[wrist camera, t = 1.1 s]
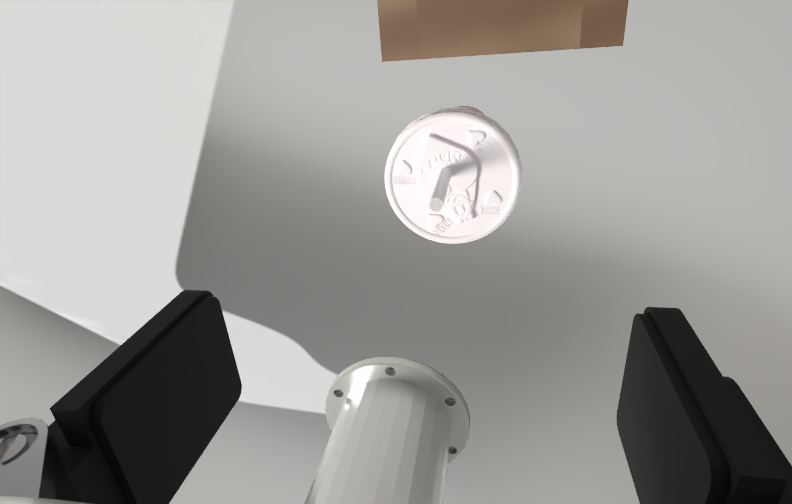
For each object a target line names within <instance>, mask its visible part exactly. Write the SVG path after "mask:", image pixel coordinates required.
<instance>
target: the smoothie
mask: <svg viewBox="0 0 792 504" xmlns="http://www.w3.org/2000/svg"><path fill="white" fill-rule="evenodd" d="M521 171H522V167H521V163H520V158H519V154H518V150H517V148H516V146H515V145H514V143H513V141H512V139H511V137H510V136H509V134H508V133H507V132H506V131H505V130H504V129H503V128H502V127H501V126H500V125H499V124H498V123H497V122H496V121H494V120H492V119H490V118H489V117H487V116H485V115H484V114H483V113H482V112H481V111H479V110H477V109H475V108H472V107H468V106H460V107H455V108H448V109H440V110H437V111H434V112H430V113H427V114H424V115H423V116H421V117H420V118H418V119H416V120H415V121H413V122H412V123H410V124H409V125H408V126H407V127H406V128H405V129H404V131H403V132H402V133H401V134H400V135H399V136H398V137H397V140H396V141H395V143H394V145H393V147H392V149H391V151H390V154H389V156H388V159H387V162H386V168H385V188H386V193H387V196H388V199H389V202H390V204H391V206H392V208H393V210H394V212H395V213H396V215H397V216H398V217H399V218H400V220H401V221H402V222H403V223H404V224H405V225H406V226H407V227H408V228H410V229H411V230H413V231H414V232H415V233H417V234H419V235H420V236H423V237H425V238H427V239H430V240H433V241H436V242H441V243H451V244H454V243H455V244H456V243H466V242H470V241H474V240H477V239H479V238H482V237H484V236H486V235H488V234H490V233H491V232H493V231H494V230H495V229H497V228H498V227H499V226H500V225H501V224H502V223H503V222H504V221H505V220H506V219H507V218H508V216H509V215H510V213H511V212H512V210H513V208H514V206H515V204H516V202H517V199H518V196H519V192H520V187H521Z"/></svg>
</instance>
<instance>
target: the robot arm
mask: <svg viewBox="0 0 792 504" xmlns="http://www.w3.org/2000/svg"><path fill="white" fill-rule="evenodd" d="M241 388H242V385H241V380H240V377H239V373H238V369H237V365H236V362H235V358H234V354H233V350H232V347H231V343H230V339H229V336H228V332H227V328H226V324H225V321H224V317H223V313H222V310H221V306H220V302H219V300H218V299H217V298H216V297H213V295H212V293H211V292H209V291H198V290H184V291H183V292H181V293H180V294H179V295H178V296H176V297H175V298H174V299H173V300H172V301H171V302H170V303H169V304H167V305H166V306H165V307H164V308H163V309H162V310H161V311H160V312H158V313H157V314H156V315H155V316H154V317H153V318H152V319H150V320H149V321H148V322H147V323H146V324H145V325H144V326H143V327H141V328H140V329H139V330H138V331H137V332H136V333H135V334H133V335H132V336H131V337H130V338H129V339H128V340H127V341H126V342H124V343H123V344H122V345H121V346H120V347H119V348H118V349H117V350H115V351H114V352H113V353H112V354H111V355H110V356H109V357H108V358H107V359H105V360H104V361H103V362H102V363H101V364H100V365H98V366H97V367H96V368H95V369H94V370H93V371H92V372H90V373H89V374H88V375H87V376H86V377H85V378H84V379H83V380H81V381H80V382H79V383H78V384H77V385H76V386H75V387H74V388H72V389H71V390H70V391H69V392H68V393H67V394H66V395H64V396H63V397H62V398H61V399H60V400H59V401H58V402H56V403H55V404H54V405H53V406H52V407H51V408H50V410H51V412H52V414H53V416H54V418H55V421H54V422H53V423H52V424H51V425H50V426H49V427H48V425H47V424H46V423H45V422H44V421H43V420H41V419H36V418H25V419H19V420H15V421H11V422H8V423H6V424H3V425H1V426H0V504H169V502H170V501H171V499H172V498H173V496H174V495H175V493H176V492H177V490H178V489H179V487H180V486H181V484H182V483H183V481H184V480H185V478H186V477H187V475H188V474H189V473H190V471H191V469H192V468H193V467H194V465H195V464H196V462H197V460H198V459H199V457H200V456H201V455H202V453H203V452H204V450H205V448H206V447H207V445H208V444H209V442H210V441H211V440H212V438H213V436H214V435H215V433H216V432H217V430H218V429H219V427H220V426H221V425H222V423H223V421H224V420H225V418H226V417H227V415H228V414H229V412H230V411H231V409H232V408H233V407H234V405H235V404H236V402H237V401H238V399H239V397H240V394H241ZM325 411H326V416H327V421H328V423H329V426H330V428H331V430H332V434H331V437H330V439H329V442H328V444H327V447H326V450H325V452H324V455H323V457H322V460H321V462H320V465H319V468H318V470H317V473H316V476H315V478H314V480H313V483H312V486H311V488H310V491H309V493H308V496H307V498H306V501H305V504H443V497H444V488H445V478H446V469H447V464H448V463H450V462H451V461H452V460H453V459H455V458H456V457H457V456H458V455H459V454H460V452H461V451H462V450H463V448H464V447H465V445H466V442H467V440H468V437H469V429H470V414H469V411H468V407H467V404H466V402H465V400H464V398H463V396H462V394H461V393H460V391H459V390H458V389H457V388H456V386H455V385H454V384H453V383H452V382H451V381H450V380H448V379H447V378H446V377H445V376H444V375H443V374H441V373H439V372H438V371H436V370H434V369H433V368H431V367H429V366H427V365H424V364H422V363H419V362H417V361H413V360H409V359H405V358H399V357H389V356H387V357H374V358H369V359H365V360H361V361H359V362H357V363H354V364H352V365H350V366H349V367H347V368H346V369H345V370H343V371H342V372H341V373H340V374H339V375H338V376H337V378H336V379H335V380H334V382H333V384H332V386H331V388H330V390H329V393H328V396H327V399H326V409H325ZM617 426H618V431H619V435H620V438H621V442H622V444H623V448H624V452H625V455H626V458H627V462H628V465H629V468H630V472H631V475H632V478H633V482H634V485H635V488H636V492H637V495H638V498H639V502H640V504H792V466H791V464H790V463H789V461H788V460H787V458H786V457H785V455H784V454H783V452H782V451H781V450H780V448H779V446H778V445H777V444H776V442H775V440H774V439H773V437H772V436H771V434H770V433H769V431H768V430H767V428H766V427H765V425H764V424H763V422H762V421H761V419H760V418H759V416H758V415H757V413H756V412H755V410H754V408H753V407H752V405H751V404H750V402H749V401H748V399H747V398H746V396H745V395H744V393H743V392H742V390H741V389H740V387H739V386H738V385H737V383H736V382H735V381H734V380H733V379H731V378H729V377H723V376H722V375H721V373H720V372H719V370H718V368H717V367H716V365H715V364H714V362H713V360H712V359H711V357H710V356H709V354H708V353H707V351H706V349H705V348H704V346H703V345H702V343H701V342H700V340H699V339H698V337H697V335H696V334H695V332H694V330H693V329H692V327H691V326H690V324H689V323H688V321H687V320H686V318H685V316H684V315H683V313H682V312H681V310H680V309H677V308H657V307H647V308H646V309H645V311H644V314H636V315H635V317H634V320H633V325H632V331H631V336H630V342H629V348H628V354H627V359H626V365H625V370H624V376H623V382H622V388H621V393H620V399H619V405H618V410H617Z"/></svg>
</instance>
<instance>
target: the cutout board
mask: <svg viewBox="0 0 792 504" xmlns="http://www.w3.org/2000/svg"><path fill="white" fill-rule="evenodd" d="M377 2H378V14H379V27H380V39H381V51H382V61H383V62H384V61H399V60H414V59H429V58H444V57H457V56H458V57H459V56H474V55H489V54H504V53H519V52H534V51H549V50H564V49H579V48H594V47H608V46H623V40H624V31H625V23H626V14H627V7H628V0H377Z"/></svg>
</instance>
